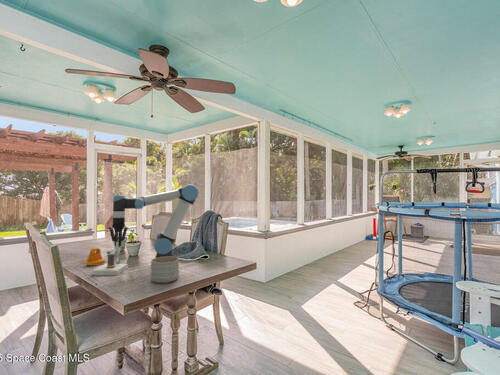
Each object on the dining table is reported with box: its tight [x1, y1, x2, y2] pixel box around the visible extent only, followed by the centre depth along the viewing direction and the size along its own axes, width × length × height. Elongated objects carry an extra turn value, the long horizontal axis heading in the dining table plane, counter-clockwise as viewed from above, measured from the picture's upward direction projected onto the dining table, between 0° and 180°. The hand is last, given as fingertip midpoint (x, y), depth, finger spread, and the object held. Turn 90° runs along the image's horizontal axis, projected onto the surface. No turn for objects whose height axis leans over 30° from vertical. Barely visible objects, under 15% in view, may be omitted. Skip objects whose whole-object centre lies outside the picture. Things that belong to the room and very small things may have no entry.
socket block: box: [91, 263, 129, 276], centre depth 181 cm, size 16×16×3 cm
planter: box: [150, 255, 180, 284], centre depth 165 cm, size 16×16×13 cm
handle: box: [106, 247, 121, 264], centre depth 184 cm, size 2×16×14 cm, turn 1°
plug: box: [106, 253, 116, 268], centre depth 181 cm, size 5×5×12 cm
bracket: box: [85, 247, 106, 267], centre depth 198 cm, size 11×7×12 cm, turn 145°
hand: (117, 251), depth 183 cm, fingers closed
